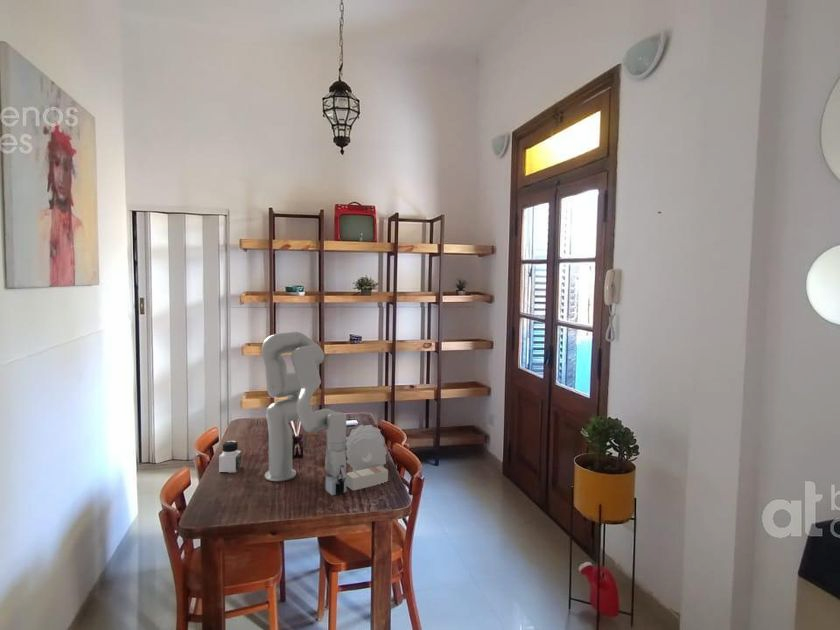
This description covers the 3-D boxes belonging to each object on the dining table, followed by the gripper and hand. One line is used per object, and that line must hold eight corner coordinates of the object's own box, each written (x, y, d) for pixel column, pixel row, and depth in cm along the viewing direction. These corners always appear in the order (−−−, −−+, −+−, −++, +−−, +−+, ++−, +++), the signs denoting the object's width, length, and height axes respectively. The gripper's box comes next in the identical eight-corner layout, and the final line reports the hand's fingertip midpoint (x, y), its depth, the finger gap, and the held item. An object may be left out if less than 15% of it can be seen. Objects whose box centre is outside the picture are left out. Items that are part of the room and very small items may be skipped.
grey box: (325, 489, 193) (325, 477, 192) (339, 486, 196) (339, 474, 196) (331, 495, 188) (332, 482, 187) (346, 492, 191) (346, 479, 191)
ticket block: (345, 485, 197) (346, 472, 197) (380, 477, 206) (380, 465, 206) (352, 490, 193) (352, 478, 192) (387, 482, 201) (388, 469, 201)
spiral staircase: (373, 466, 230) (377, 485, 205) (338, 451, 227) (338, 468, 202) (390, 430, 231) (396, 445, 206) (356, 415, 228) (358, 428, 203)
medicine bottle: (236, 472, 208) (235, 444, 208) (218, 472, 208) (218, 444, 207) (241, 466, 216) (241, 439, 215) (224, 466, 215) (224, 439, 214)
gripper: (318, 440, 196) (318, 484, 197) (336, 453, 181) (336, 500, 183) (335, 437, 200) (335, 480, 201) (355, 449, 186) (354, 496, 187)
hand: (336, 489), depth 192 cm, fingers closed on grey box, 6 cm apart
